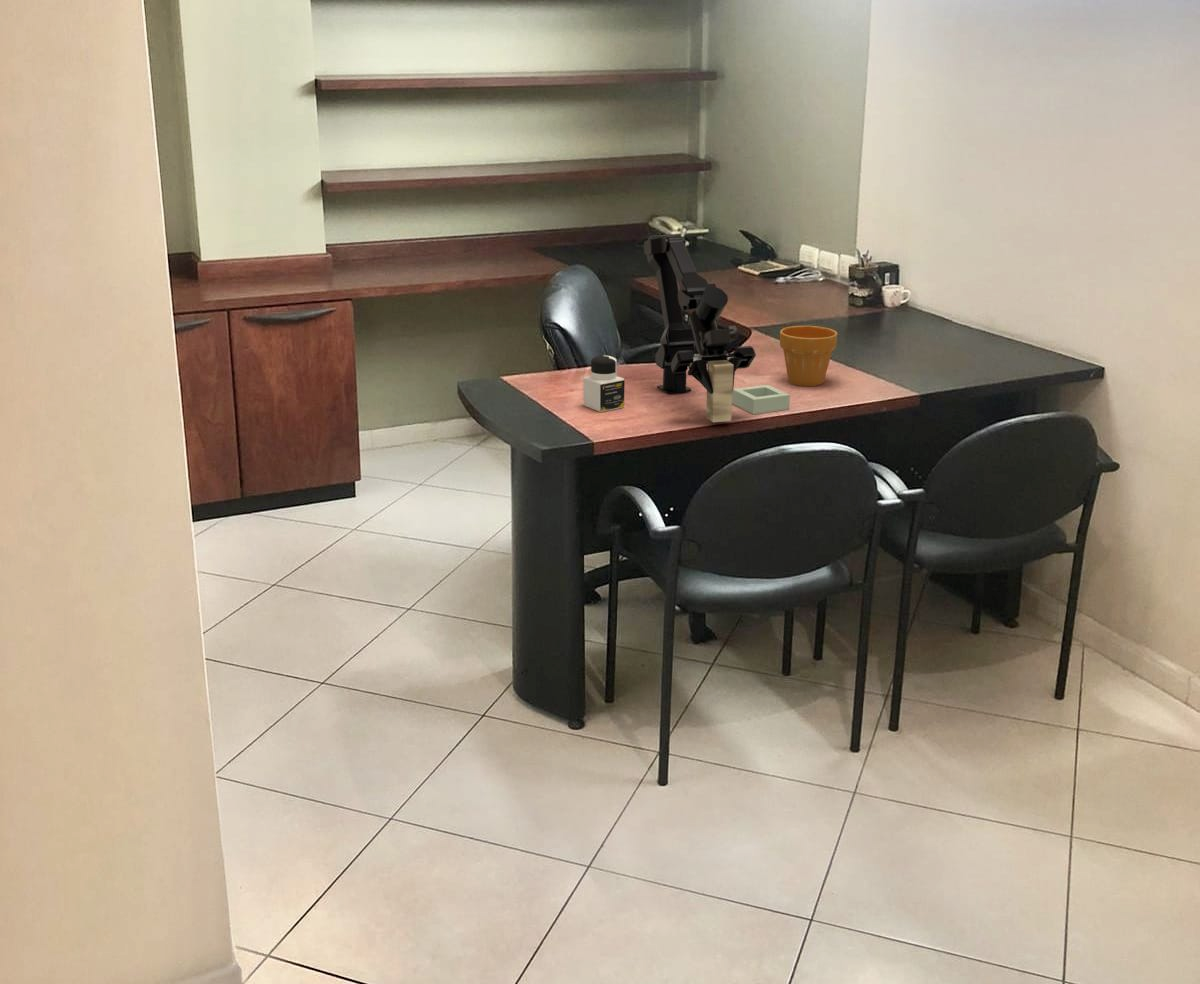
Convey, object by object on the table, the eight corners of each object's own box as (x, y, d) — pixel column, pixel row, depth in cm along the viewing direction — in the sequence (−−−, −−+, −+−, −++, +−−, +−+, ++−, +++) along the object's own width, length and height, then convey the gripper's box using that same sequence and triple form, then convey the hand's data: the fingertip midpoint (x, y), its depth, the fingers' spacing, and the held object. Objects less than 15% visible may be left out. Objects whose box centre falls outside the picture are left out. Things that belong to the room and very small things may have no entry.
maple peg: (705, 416, 279) (707, 361, 274) (723, 415, 280) (726, 359, 276) (712, 422, 275) (715, 366, 270) (731, 420, 276) (733, 364, 272)
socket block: (731, 403, 293) (732, 389, 292) (767, 398, 297) (767, 384, 296) (753, 414, 285) (754, 399, 284) (789, 409, 289) (789, 394, 288)
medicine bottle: (600, 412, 286) (600, 362, 282) (582, 405, 291) (582, 356, 287) (624, 407, 290) (625, 358, 286) (607, 400, 295) (607, 352, 291)
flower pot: (791, 391, 303) (794, 339, 299) (768, 376, 316) (771, 327, 312) (843, 387, 307) (847, 336, 302) (819, 373, 320) (822, 324, 315)
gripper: (676, 315, 270) (692, 377, 264) (754, 311, 275) (772, 371, 269) (663, 342, 280) (679, 402, 274) (739, 337, 285) (756, 395, 279)
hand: (721, 392), depth 274 cm, fingers closed on maple peg, 4 cm apart
